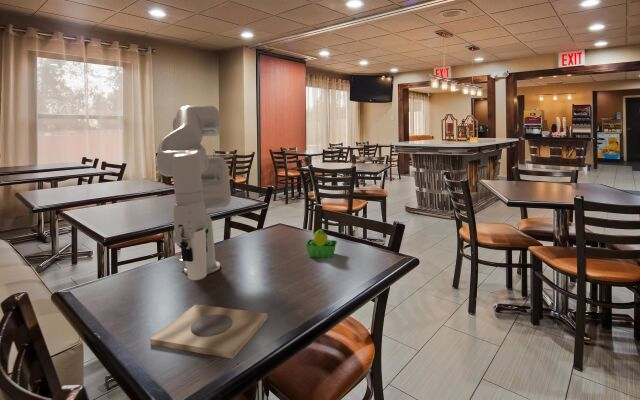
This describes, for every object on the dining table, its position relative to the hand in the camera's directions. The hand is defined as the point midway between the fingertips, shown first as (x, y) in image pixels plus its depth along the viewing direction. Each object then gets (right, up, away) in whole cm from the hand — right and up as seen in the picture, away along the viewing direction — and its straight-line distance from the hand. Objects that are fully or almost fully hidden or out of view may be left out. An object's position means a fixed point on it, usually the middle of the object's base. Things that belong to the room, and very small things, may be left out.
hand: (195, 255), depth 111 cm
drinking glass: (0, -7, +2) cm, 7 cm away
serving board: (+10, -16, -16) cm, 25 cm away
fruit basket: (+37, -5, +36) cm, 52 cm away
